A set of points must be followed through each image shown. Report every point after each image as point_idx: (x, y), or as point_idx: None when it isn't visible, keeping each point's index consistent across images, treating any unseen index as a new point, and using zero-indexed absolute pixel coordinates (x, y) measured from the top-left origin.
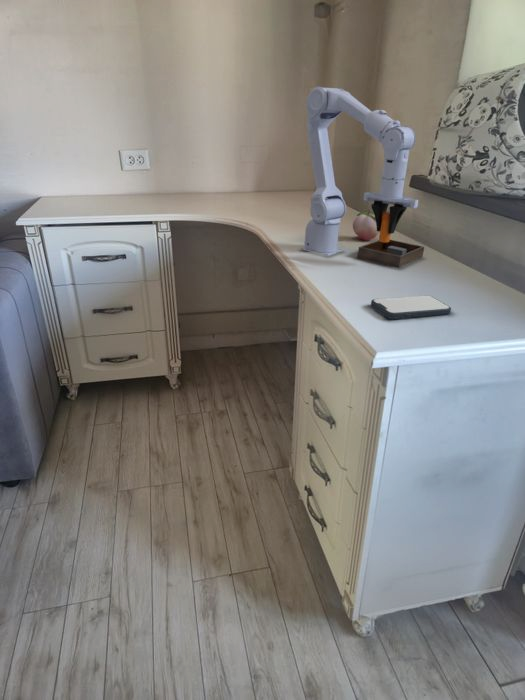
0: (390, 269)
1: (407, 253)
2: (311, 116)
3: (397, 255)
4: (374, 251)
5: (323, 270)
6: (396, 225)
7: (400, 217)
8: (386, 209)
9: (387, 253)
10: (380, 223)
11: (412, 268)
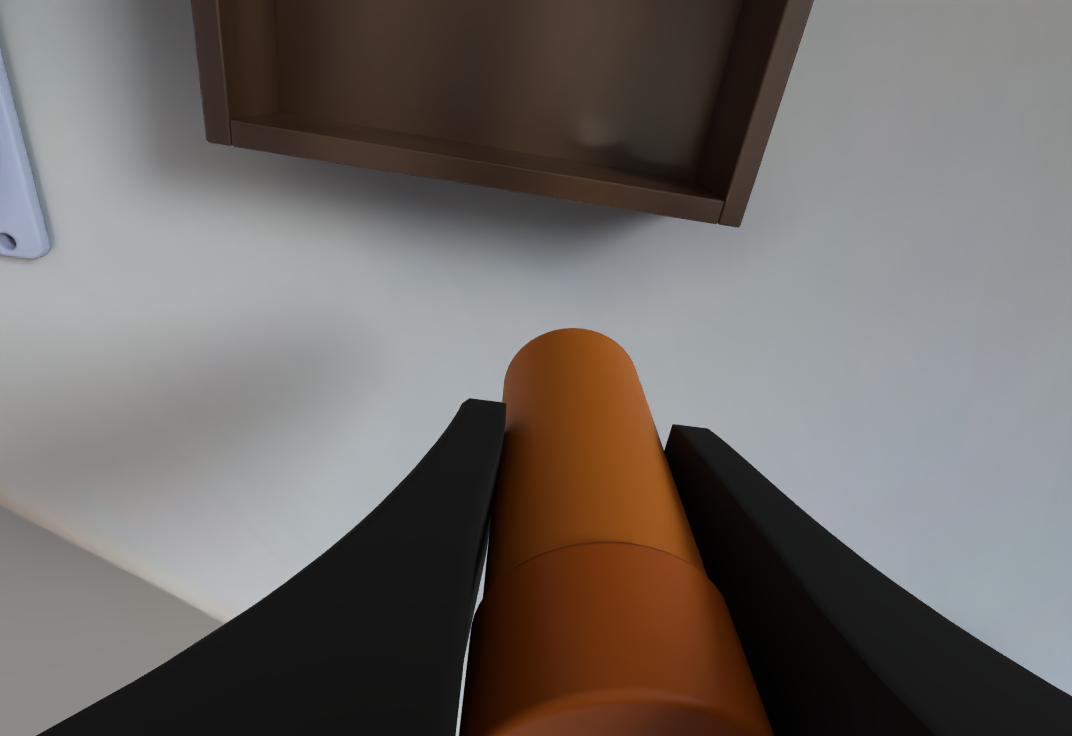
0: (641, 250)
1: (799, 19)
2: None
3: (700, 201)
4: (425, 174)
5: (278, 535)
6: (778, 498)
7: (937, 629)
8: (456, 692)
9: (583, 192)
10: (478, 570)
11: (821, 83)
